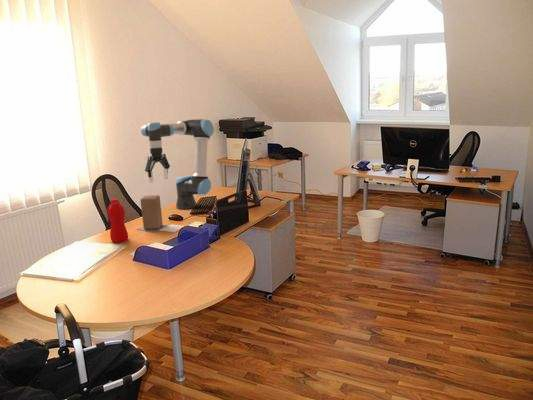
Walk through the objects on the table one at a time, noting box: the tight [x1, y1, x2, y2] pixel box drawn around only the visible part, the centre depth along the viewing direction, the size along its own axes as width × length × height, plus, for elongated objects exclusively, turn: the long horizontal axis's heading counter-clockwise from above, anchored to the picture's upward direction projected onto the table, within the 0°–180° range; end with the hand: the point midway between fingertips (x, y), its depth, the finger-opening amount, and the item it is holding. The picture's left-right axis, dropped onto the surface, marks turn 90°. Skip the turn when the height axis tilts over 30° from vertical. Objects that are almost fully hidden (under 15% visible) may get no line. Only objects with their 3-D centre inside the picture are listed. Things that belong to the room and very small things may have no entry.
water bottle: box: [106, 198, 129, 244], centre depth 259 cm, size 9×11×25 cm
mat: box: [159, 224, 185, 233], centre depth 280 cm, size 12×12×1 cm
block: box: [140, 194, 164, 230], centre depth 281 cm, size 10×10×20 cm
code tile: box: [137, 224, 169, 233], centre depth 284 cm, size 14×14×1 cm
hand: (158, 180), depth 285 cm, fingers open, 13 cm apart
